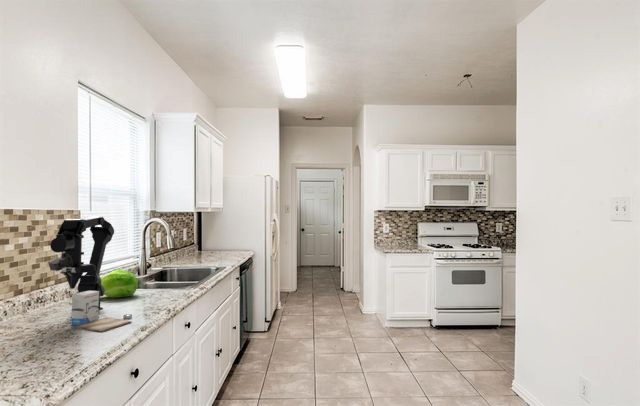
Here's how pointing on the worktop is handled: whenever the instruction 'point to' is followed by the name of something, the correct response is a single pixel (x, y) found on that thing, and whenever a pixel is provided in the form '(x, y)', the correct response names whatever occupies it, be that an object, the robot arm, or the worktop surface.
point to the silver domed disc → (127, 316)
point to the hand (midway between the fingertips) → (72, 288)
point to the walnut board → (103, 324)
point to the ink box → (85, 307)
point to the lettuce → (119, 283)
